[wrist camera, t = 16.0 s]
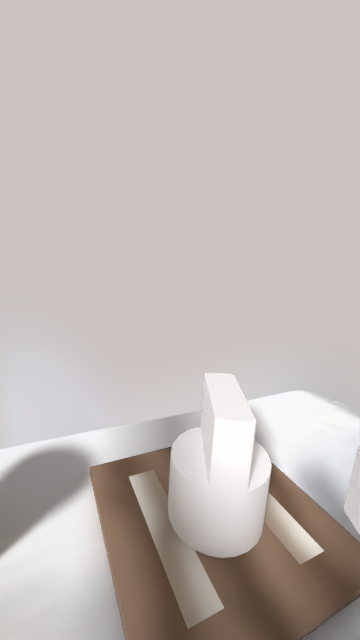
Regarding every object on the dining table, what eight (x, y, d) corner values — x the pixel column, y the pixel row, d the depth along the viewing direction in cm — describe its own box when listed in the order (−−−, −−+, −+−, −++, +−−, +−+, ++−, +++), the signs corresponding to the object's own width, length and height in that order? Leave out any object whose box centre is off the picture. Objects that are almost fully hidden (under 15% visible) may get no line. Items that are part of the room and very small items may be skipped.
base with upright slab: (169, 472, 31) (174, 370, 29) (249, 476, 31) (262, 375, 29) (165, 555, 22) (173, 418, 20) (278, 560, 22) (299, 424, 20)
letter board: (149, 750, 14) (150, 739, 14) (89, 473, 31) (89, 466, 31) (386, 576, 22) (388, 567, 22) (235, 435, 40) (236, 430, 40)
